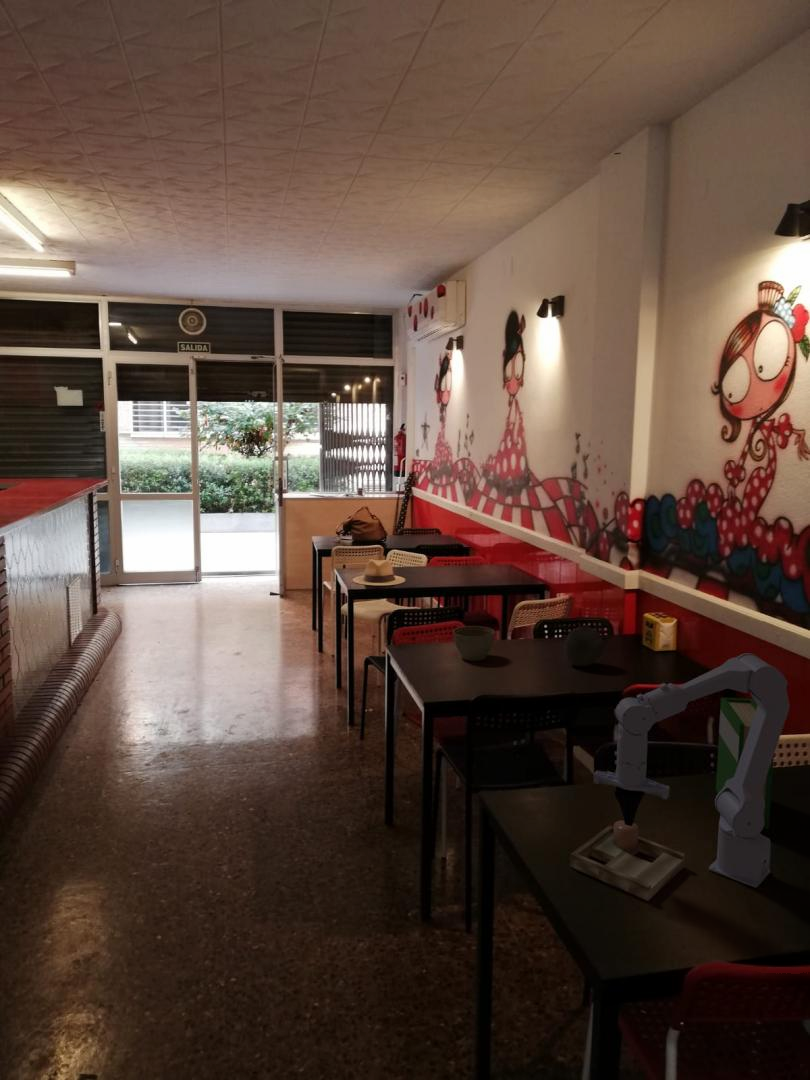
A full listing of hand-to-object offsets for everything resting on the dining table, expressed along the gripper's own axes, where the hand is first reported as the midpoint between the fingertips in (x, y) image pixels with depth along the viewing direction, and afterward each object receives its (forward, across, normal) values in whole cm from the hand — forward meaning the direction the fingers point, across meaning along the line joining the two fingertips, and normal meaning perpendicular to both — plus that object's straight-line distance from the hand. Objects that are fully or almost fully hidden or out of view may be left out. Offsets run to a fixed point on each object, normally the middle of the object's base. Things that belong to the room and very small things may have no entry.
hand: (629, 823), depth 156 cm
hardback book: (+10, -16, -39) cm, 44 cm away
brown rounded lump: (+8, +2, -6) cm, 10 cm away
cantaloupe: (+10, +50, -130) cm, 140 cm away
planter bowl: (+10, +91, -120) cm, 150 cm away
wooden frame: (+10, 0, -1) cm, 10 cm away
